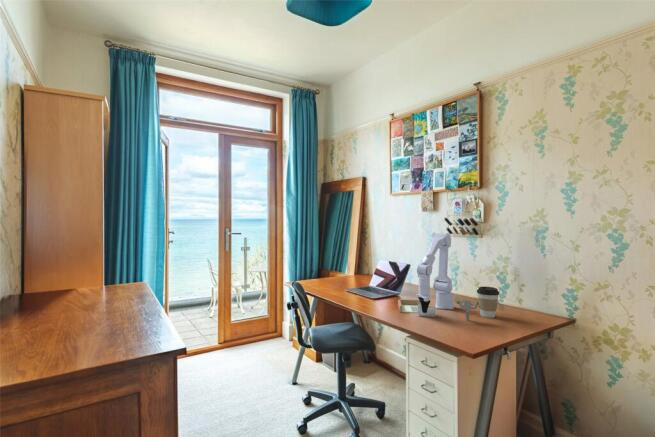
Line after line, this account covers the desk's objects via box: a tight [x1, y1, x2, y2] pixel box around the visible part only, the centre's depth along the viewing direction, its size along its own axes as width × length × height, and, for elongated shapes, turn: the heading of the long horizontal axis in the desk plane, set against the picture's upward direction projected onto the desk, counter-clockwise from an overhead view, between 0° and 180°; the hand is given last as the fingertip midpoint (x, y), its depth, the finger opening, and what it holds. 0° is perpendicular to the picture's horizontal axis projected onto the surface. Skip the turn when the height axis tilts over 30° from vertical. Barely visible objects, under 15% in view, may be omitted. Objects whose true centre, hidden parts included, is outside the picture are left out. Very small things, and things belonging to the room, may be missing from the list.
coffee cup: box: [476, 286, 500, 319], centre depth 185 cm, size 11×11×15 cm
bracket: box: [416, 301, 436, 318], centre depth 186 cm, size 9×4×7 cm, turn 82°
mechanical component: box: [456, 299, 479, 322], centre depth 177 cm, size 3×10×10 cm, turn 79°
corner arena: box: [397, 298, 419, 314], centre depth 198 cm, size 17×16×4 cm
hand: (424, 311), depth 186 cm, fingers open, 4 cm apart
